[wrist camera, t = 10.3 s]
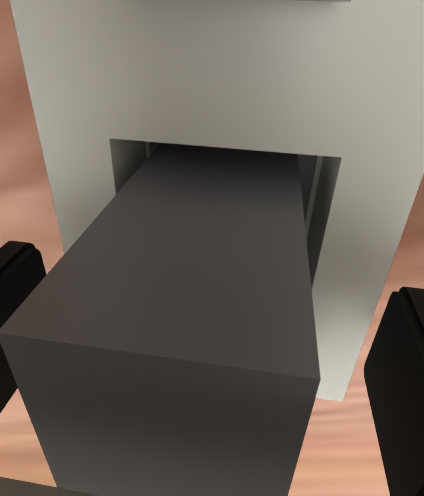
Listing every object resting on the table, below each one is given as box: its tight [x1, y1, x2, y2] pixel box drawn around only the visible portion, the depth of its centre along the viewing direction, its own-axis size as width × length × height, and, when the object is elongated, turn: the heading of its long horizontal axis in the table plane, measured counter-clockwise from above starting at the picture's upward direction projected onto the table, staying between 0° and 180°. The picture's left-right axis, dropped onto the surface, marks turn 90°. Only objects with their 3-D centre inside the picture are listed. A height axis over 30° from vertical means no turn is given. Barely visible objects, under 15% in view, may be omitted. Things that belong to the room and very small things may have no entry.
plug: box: [0, 143, 321, 496], centre depth 11 cm, size 8×4×9 cm, turn 178°
